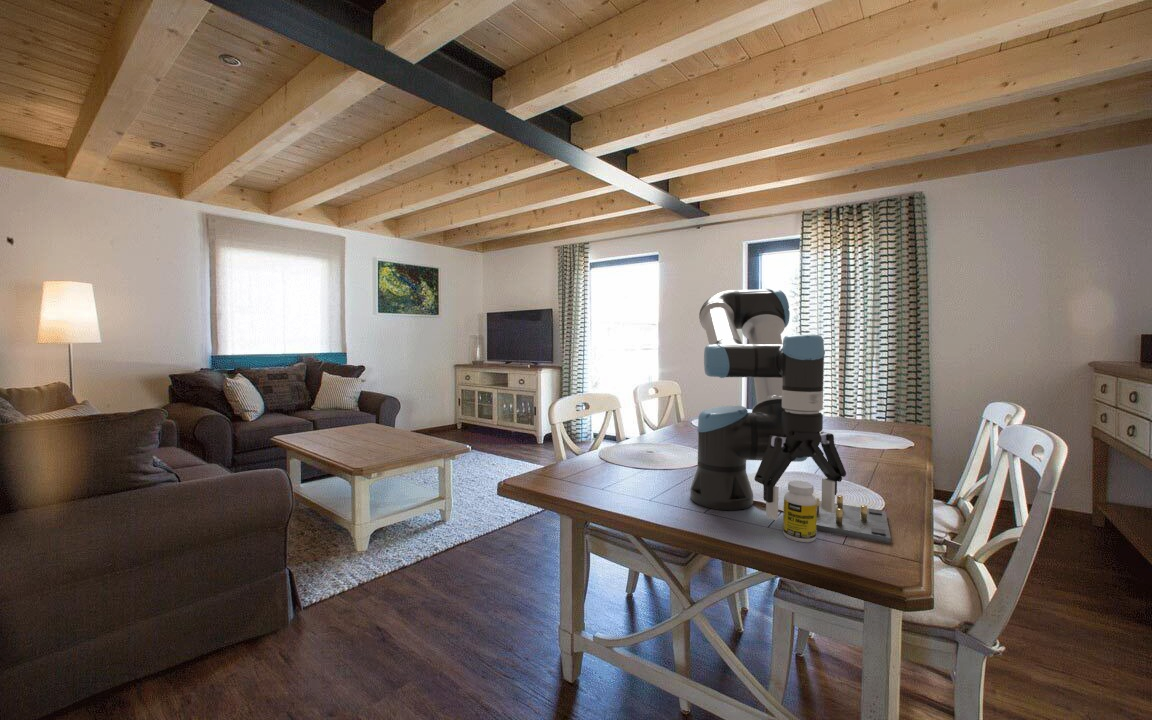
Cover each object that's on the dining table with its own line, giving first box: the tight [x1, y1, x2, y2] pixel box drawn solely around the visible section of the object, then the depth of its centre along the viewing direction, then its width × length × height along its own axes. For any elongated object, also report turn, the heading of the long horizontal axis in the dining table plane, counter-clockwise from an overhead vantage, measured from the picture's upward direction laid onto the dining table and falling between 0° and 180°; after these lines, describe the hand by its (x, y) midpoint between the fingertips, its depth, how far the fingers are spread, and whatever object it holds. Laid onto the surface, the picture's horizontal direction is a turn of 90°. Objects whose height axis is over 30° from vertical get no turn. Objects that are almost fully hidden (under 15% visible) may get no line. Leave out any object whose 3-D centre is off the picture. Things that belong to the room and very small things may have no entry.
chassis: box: [815, 494, 892, 545], centre depth 105 cm, size 18×16×4 cm
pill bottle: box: [782, 480, 817, 543], centre depth 97 cm, size 6×6×11 cm
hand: (800, 514), depth 96 cm, fingers open, 13 cm apart
